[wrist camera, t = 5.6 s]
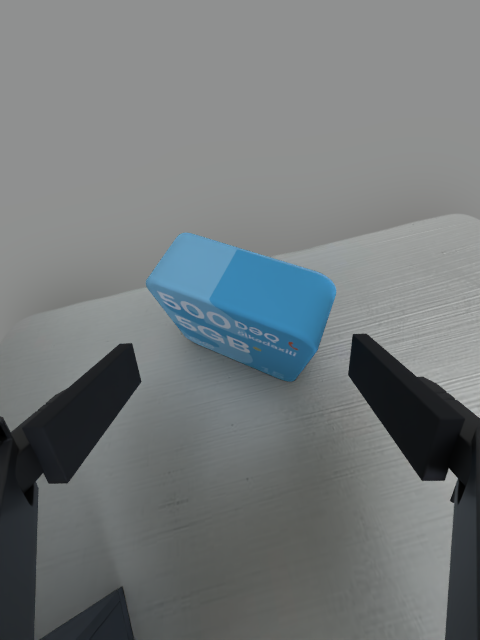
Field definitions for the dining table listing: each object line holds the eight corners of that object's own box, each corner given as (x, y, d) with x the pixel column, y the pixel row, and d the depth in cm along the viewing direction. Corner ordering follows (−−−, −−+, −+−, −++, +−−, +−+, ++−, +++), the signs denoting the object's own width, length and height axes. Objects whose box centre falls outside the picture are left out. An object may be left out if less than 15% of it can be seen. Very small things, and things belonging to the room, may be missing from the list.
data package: (186, 340, 26) (135, 275, 15) (205, 306, 27) (171, 225, 17) (292, 385, 23) (322, 345, 12) (306, 344, 25) (344, 277, 14)
